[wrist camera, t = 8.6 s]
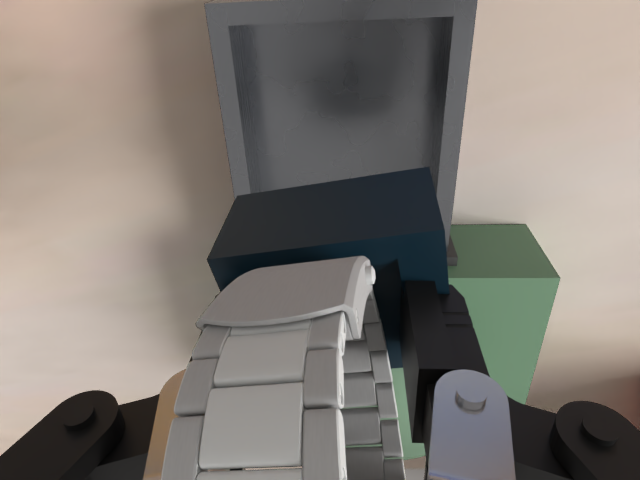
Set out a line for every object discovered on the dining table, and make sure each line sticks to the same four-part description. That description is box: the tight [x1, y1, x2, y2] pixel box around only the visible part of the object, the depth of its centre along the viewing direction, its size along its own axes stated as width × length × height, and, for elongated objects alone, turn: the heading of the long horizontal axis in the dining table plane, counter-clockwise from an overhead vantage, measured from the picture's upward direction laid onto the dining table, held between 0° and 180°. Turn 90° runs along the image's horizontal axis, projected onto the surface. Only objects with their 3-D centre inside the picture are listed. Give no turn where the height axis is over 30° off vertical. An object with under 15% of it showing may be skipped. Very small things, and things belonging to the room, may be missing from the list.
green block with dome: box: [342, 224, 560, 460], centre depth 25 cm, size 11×16×8 cm
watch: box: [161, 167, 450, 480], centre depth 10 cm, size 6×8×11 cm
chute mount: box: [204, 0, 477, 252], centre depth 22 cm, size 12×10×4 cm
